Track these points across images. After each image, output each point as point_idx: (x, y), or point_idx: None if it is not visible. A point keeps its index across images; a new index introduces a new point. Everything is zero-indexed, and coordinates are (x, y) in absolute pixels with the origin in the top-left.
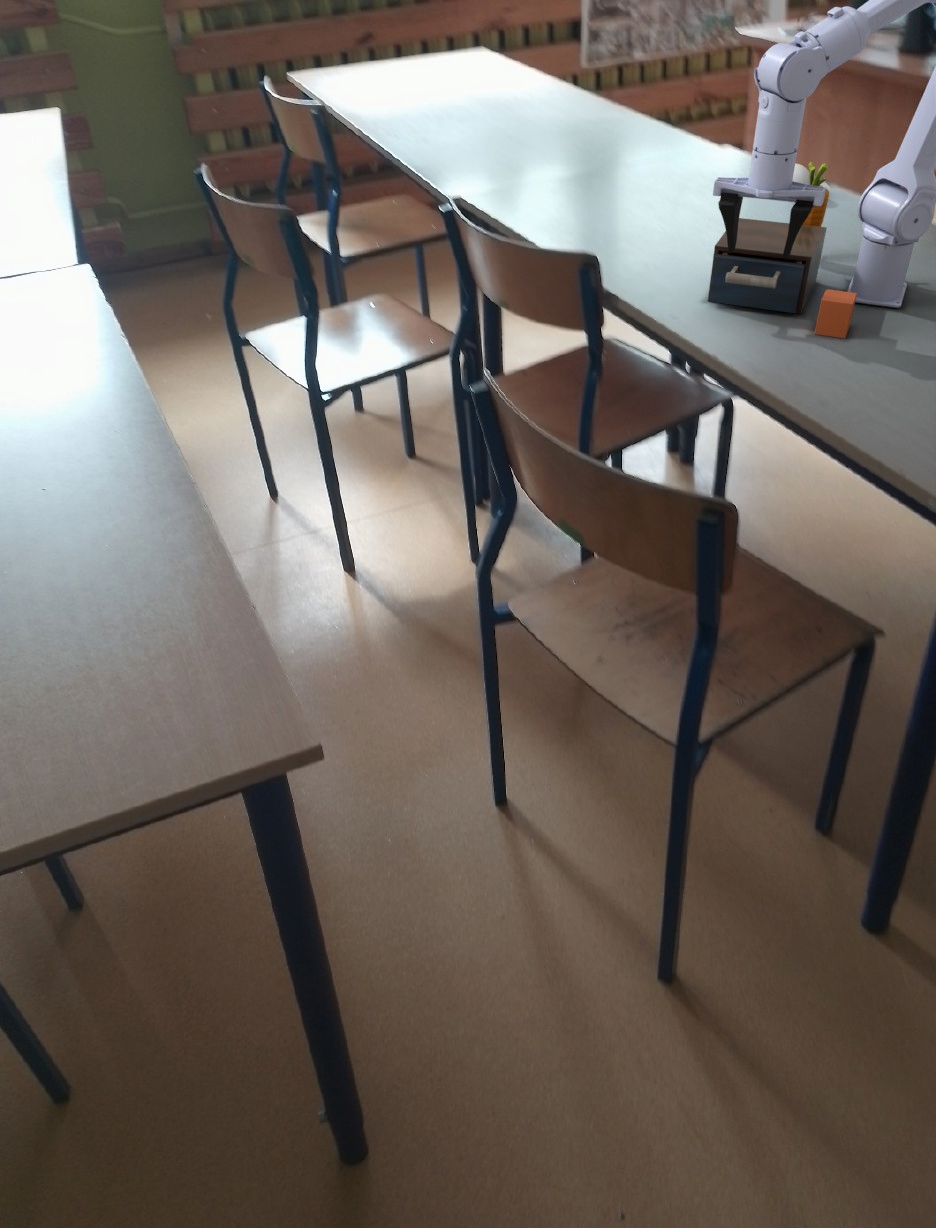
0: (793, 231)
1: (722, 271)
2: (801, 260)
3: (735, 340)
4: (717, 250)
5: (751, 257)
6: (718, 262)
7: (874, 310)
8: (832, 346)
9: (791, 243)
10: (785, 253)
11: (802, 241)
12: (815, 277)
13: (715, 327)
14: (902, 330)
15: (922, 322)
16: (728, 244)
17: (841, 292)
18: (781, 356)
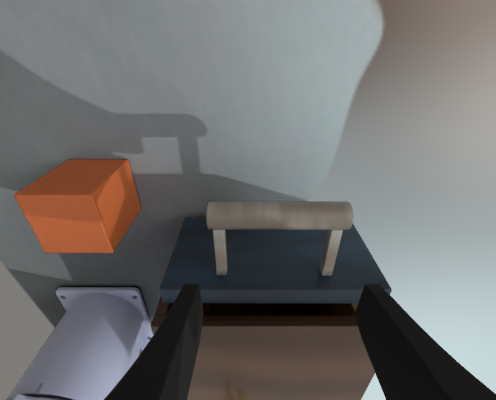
0: (140, 381)
1: (353, 262)
2: None
3: (272, 66)
4: None
5: None
6: (374, 278)
7: (87, 274)
8: (71, 114)
9: (160, 327)
10: (188, 295)
11: (201, 379)
12: None
13: (325, 124)
14: (9, 224)
15: (4, 258)
16: (394, 301)
17: (75, 246)
18: (144, 3)
